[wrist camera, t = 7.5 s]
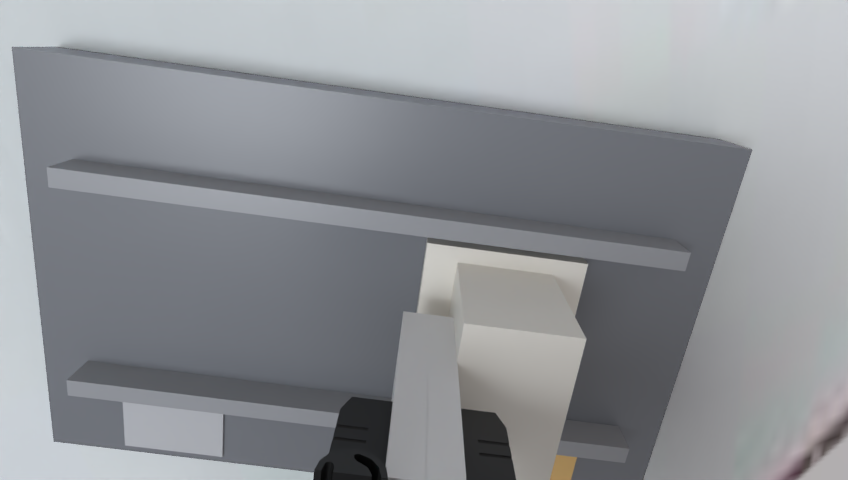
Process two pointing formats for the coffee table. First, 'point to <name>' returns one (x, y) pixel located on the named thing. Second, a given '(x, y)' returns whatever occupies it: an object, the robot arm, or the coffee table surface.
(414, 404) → the robot arm
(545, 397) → the switch tab
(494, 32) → the coffee table surface
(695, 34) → the coffee table surface
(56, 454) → the coffee table surface
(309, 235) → the switch panel
